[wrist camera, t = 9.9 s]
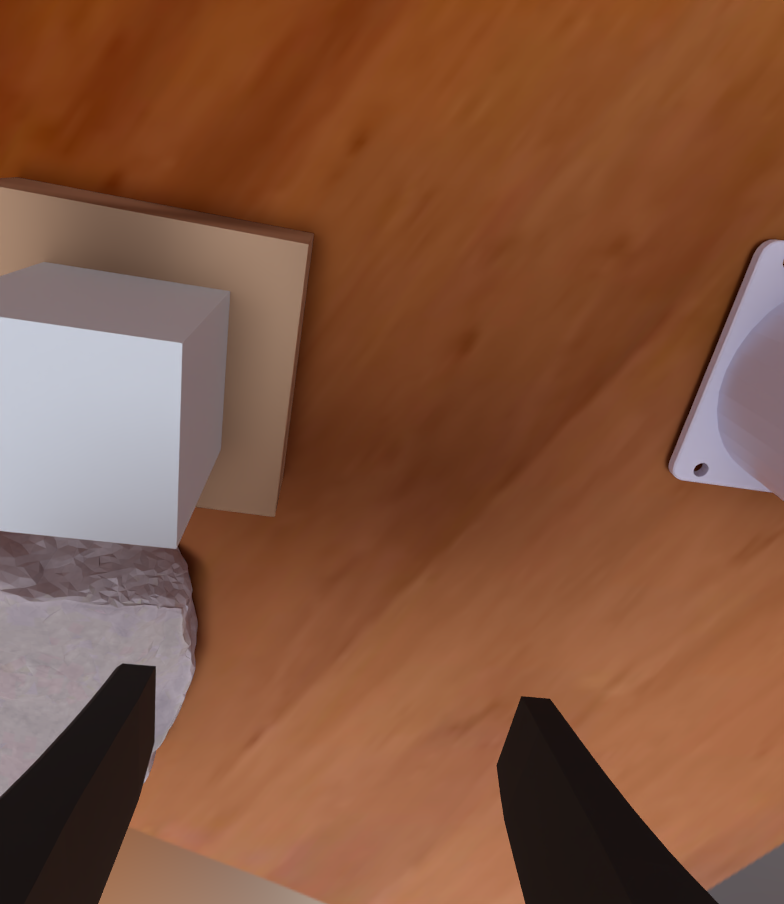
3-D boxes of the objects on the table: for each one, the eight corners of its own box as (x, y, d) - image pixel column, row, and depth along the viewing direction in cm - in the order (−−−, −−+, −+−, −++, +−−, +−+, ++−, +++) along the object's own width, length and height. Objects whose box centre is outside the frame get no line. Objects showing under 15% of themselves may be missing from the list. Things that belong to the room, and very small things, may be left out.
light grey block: (230, 290, 16) (182, 343, 11) (221, 449, 17) (176, 549, 13) (43, 261, 15) (-87, 304, 11) (54, 428, 17) (-52, 525, 12)
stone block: (216, 506, 23) (-100, 473, 20) (216, 593, 19) (-179, 572, 16) (173, 714, 29) (-85, 717, 25) (166, 817, 25) (-141, 838, 21)
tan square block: (314, 231, 18) (308, 244, 15) (284, 471, 21) (274, 517, 19) (25, 176, 17) (-37, 179, 14) (40, 438, 20) (-8, 481, 17)
